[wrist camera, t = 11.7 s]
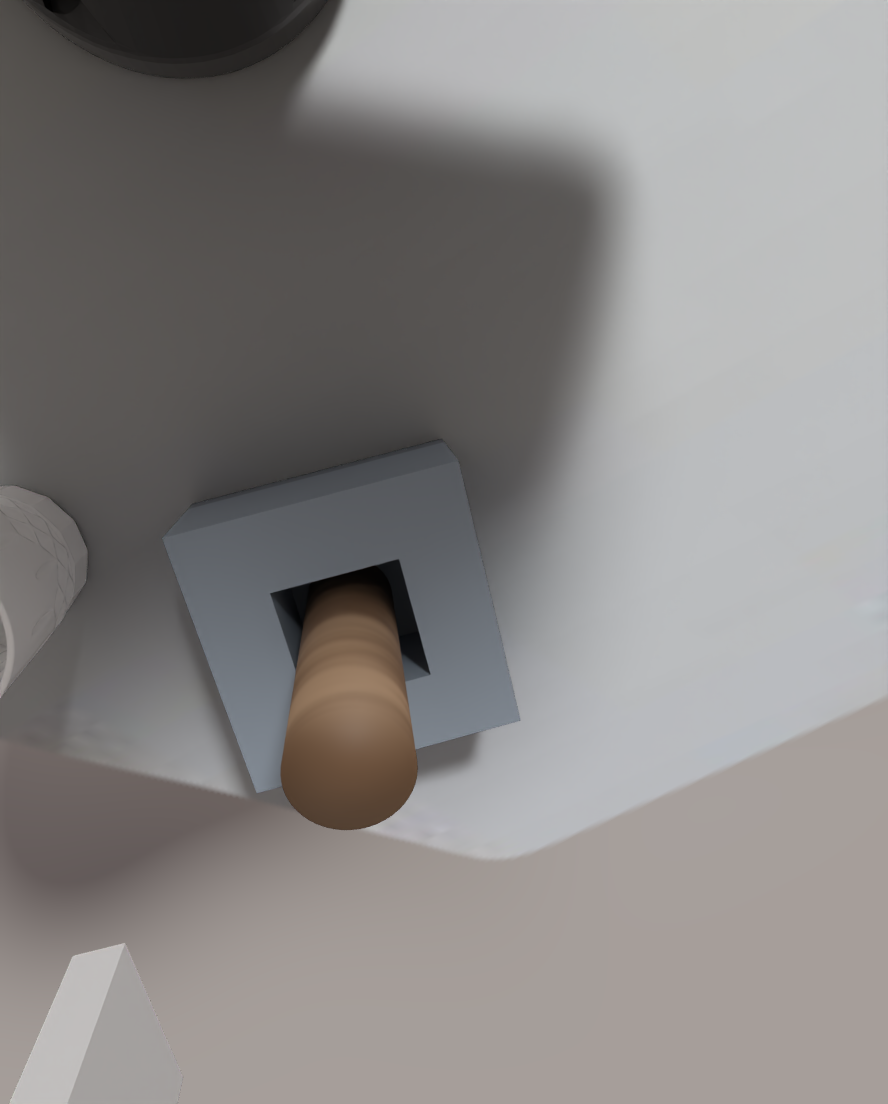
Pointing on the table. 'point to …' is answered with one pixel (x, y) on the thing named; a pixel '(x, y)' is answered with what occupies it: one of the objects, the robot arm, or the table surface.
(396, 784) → the walnut dowel
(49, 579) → the white cup
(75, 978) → the robot arm
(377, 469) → the socket block
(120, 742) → the table surface
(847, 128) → the table surface
